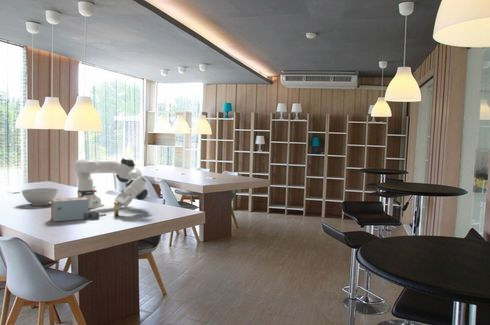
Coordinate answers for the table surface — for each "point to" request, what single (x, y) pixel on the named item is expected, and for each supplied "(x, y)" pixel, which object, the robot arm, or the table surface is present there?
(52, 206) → the cabinet
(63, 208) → the cabinet door
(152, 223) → the table surface
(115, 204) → the hinge pin
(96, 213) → the grey hollow ring
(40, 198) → the decorative bowl
